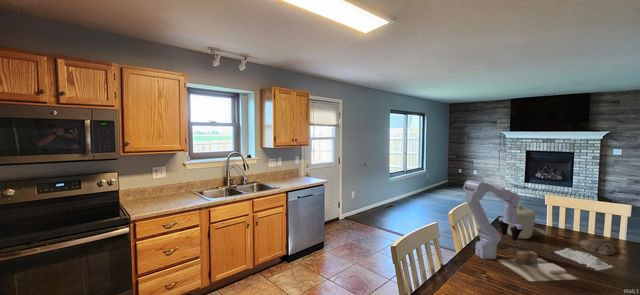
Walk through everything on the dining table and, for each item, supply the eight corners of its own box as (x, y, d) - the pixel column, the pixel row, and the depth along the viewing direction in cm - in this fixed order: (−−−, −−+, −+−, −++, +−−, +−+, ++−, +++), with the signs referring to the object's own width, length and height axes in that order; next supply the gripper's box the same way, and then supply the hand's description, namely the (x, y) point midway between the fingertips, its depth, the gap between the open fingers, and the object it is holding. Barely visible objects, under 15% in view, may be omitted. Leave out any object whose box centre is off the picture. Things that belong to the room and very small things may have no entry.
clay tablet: (590, 241, 173) (576, 247, 163) (591, 233, 172) (576, 239, 163) (623, 250, 160) (609, 257, 151) (623, 242, 160) (610, 248, 151)
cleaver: (561, 241, 173) (572, 239, 176) (561, 240, 173) (572, 238, 176) (516, 226, 201) (526, 224, 204) (516, 225, 201) (526, 224, 204)
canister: (543, 241, 172) (544, 208, 171) (514, 241, 172) (515, 208, 171) (522, 231, 190) (523, 200, 189) (496, 231, 190) (496, 200, 189)
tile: (549, 270, 131) (565, 270, 132) (537, 263, 138) (552, 263, 139) (549, 273, 131) (565, 273, 132) (537, 266, 138) (552, 266, 139)
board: (529, 283, 125) (529, 280, 125) (496, 261, 146) (496, 259, 146) (579, 281, 127) (579, 278, 126) (539, 260, 147) (540, 257, 147)
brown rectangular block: (521, 263, 141) (522, 254, 140) (516, 260, 144) (516, 251, 144) (536, 263, 141) (537, 253, 141) (531, 260, 145) (531, 250, 144)
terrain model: (565, 251, 162) (565, 242, 162) (619, 267, 141) (619, 257, 141) (547, 256, 156) (547, 247, 156) (601, 273, 135) (601, 263, 135)
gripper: (527, 217, 146) (526, 242, 147) (507, 209, 161) (506, 232, 162) (515, 217, 146) (514, 243, 147) (495, 210, 160) (495, 233, 161)
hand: (509, 237), depth 154 cm, fingers open, 7 cm apart
